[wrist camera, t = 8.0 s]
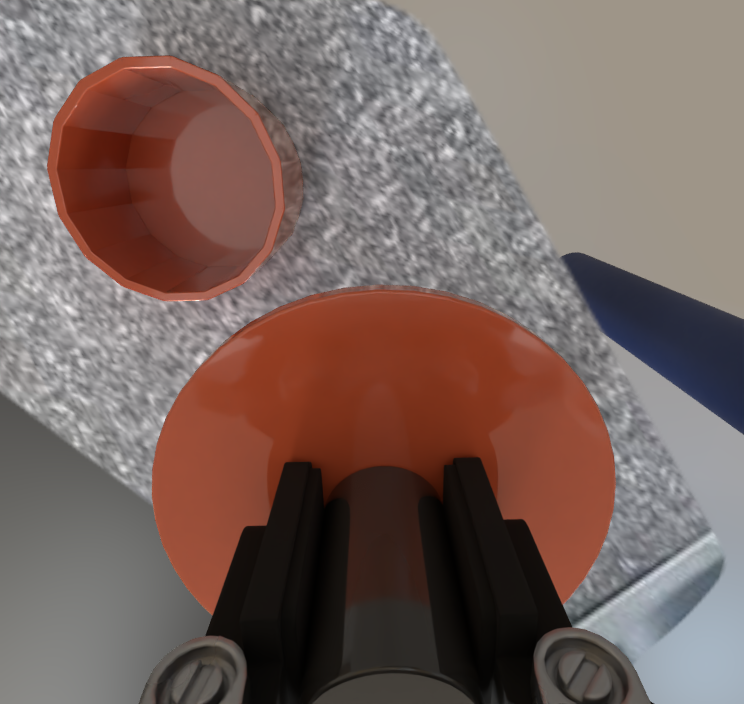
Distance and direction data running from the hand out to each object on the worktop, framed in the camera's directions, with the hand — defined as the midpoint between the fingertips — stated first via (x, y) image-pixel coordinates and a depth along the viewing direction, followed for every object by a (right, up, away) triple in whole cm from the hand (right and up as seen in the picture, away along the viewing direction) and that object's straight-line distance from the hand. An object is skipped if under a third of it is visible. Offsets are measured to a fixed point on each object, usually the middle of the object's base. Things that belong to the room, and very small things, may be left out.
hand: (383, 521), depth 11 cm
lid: (0, 0, +1) cm, 1 cm away
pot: (-9, +13, +16) cm, 22 cm away
